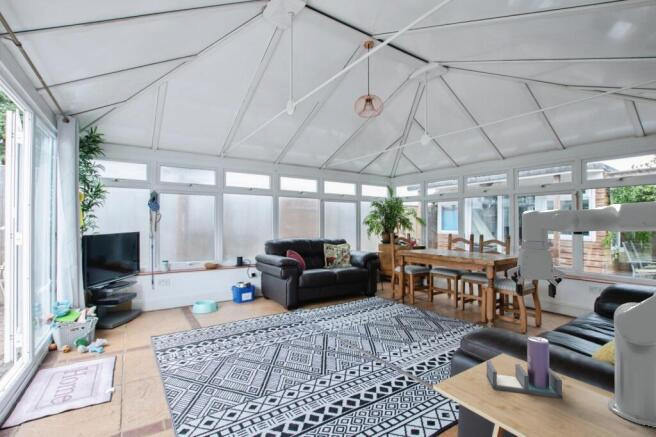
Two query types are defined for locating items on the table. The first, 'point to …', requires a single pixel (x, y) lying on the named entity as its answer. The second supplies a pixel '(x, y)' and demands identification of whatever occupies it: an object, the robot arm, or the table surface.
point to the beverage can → (538, 362)
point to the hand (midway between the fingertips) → (535, 296)
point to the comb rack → (523, 382)
